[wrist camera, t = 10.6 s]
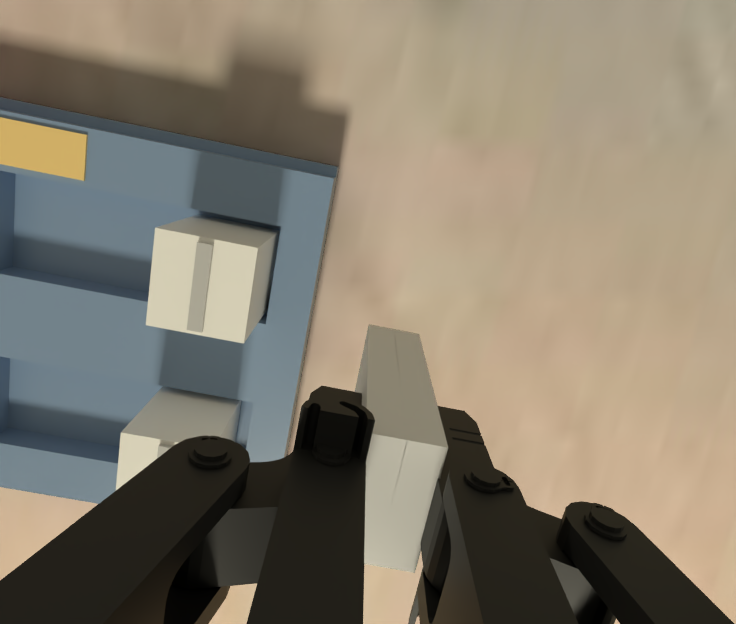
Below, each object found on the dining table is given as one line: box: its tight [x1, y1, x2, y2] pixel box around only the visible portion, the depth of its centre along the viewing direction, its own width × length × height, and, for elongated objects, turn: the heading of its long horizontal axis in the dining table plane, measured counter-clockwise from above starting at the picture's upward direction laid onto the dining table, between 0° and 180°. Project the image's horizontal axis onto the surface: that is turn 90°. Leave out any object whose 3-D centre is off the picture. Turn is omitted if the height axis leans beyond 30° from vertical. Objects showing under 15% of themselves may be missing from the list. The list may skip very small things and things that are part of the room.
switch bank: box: [0, 97, 339, 504], centre depth 28 cm, size 17×20×3 cm
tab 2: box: [116, 386, 242, 490], centre depth 27 cm, size 4×4×6 cm
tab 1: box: [146, 215, 280, 344], centre depth 24 cm, size 4×4×6 cm
